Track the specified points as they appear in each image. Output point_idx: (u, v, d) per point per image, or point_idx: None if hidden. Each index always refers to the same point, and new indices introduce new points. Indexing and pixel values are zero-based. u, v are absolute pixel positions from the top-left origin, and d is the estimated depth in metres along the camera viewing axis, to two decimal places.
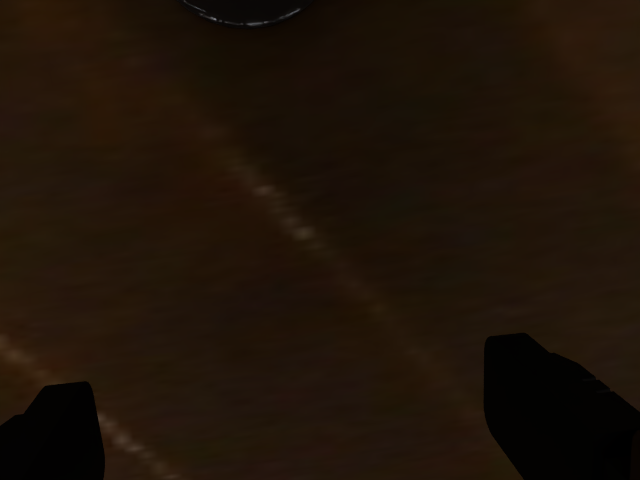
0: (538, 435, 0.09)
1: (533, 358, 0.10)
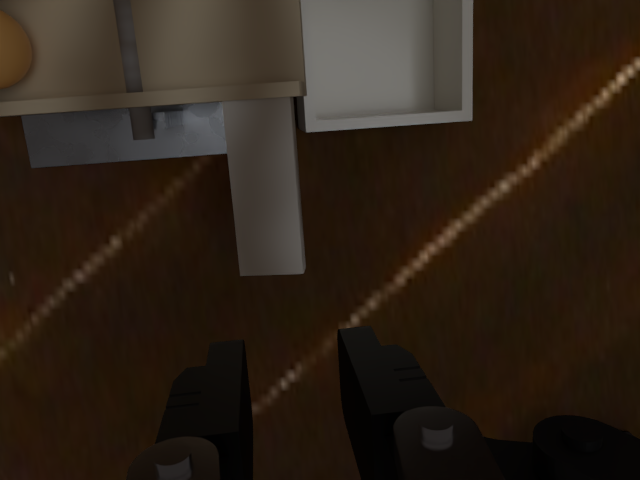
0: (357, 418, 0.10)
1: (362, 348, 0.10)
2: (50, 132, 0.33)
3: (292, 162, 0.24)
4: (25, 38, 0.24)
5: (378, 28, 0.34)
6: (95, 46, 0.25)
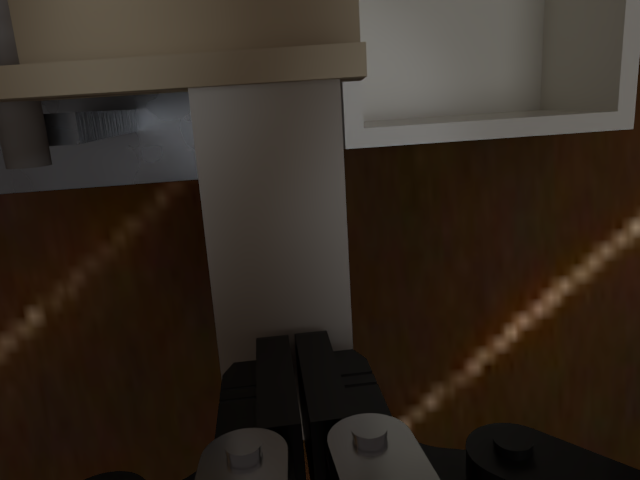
0: (306, 424, 0.10)
1: (314, 353, 0.10)
2: None
3: (341, 218, 0.11)
4: None
5: None
6: None
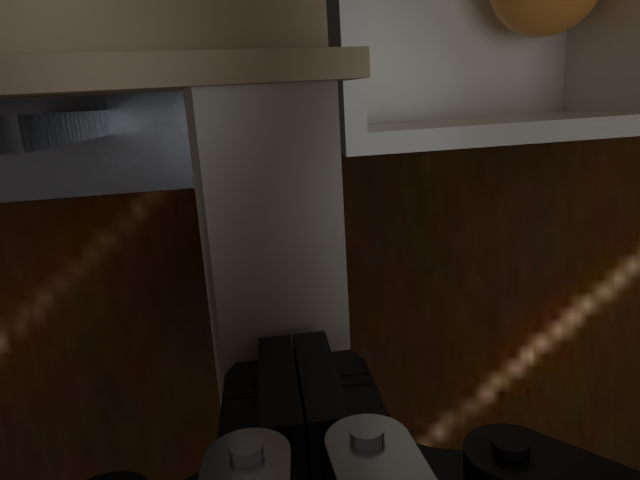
0: (304, 425, 0.10)
1: (312, 354, 0.10)
2: None
3: (339, 213, 0.12)
4: None
5: None
6: None
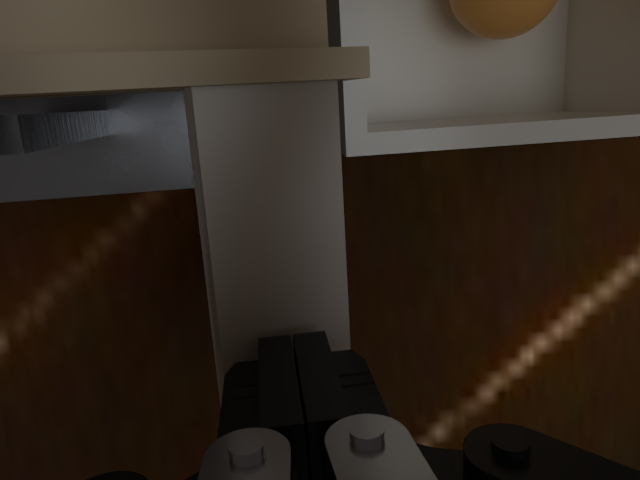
0: (304, 425, 0.10)
1: (312, 354, 0.10)
2: None
3: (339, 213, 0.12)
4: None
5: None
6: None
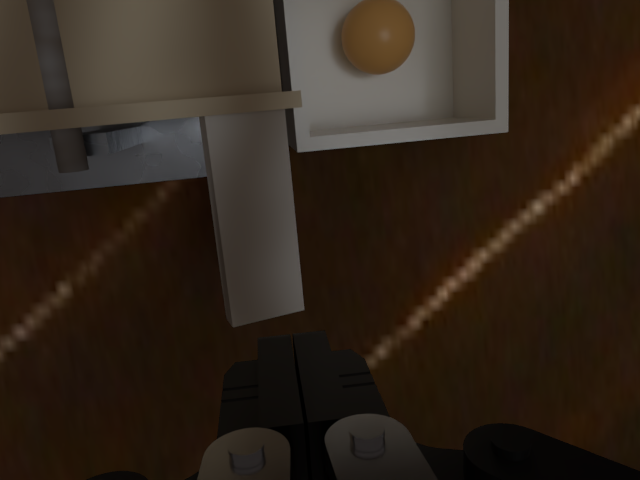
0: (304, 425, 0.10)
1: (312, 354, 0.10)
2: None
3: (289, 183, 0.21)
4: (402, 24, 0.24)
5: None
6: None
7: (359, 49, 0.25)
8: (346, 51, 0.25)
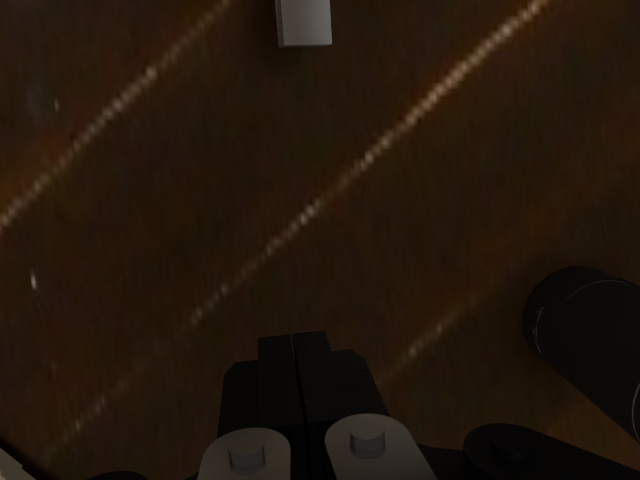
0: (304, 425, 0.10)
1: (312, 354, 0.10)
2: None
3: None
4: None
5: None
6: None
7: None
8: None
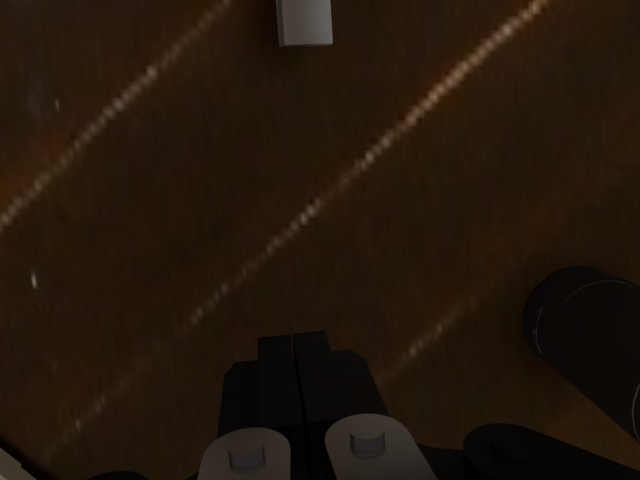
0: (304, 425, 0.10)
1: (312, 354, 0.10)
2: None
3: None
4: None
5: None
6: None
7: None
8: None
